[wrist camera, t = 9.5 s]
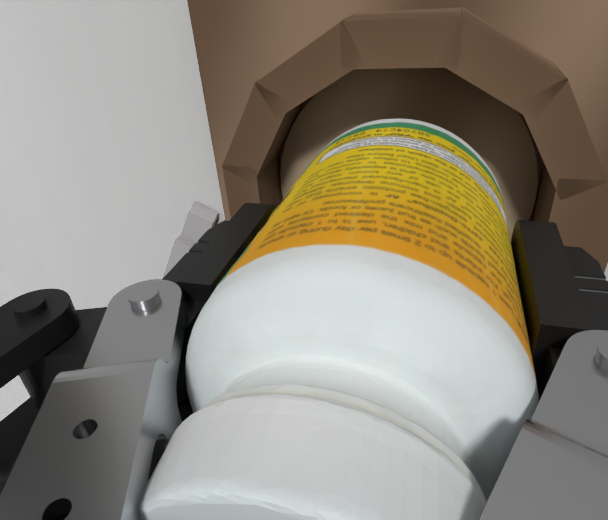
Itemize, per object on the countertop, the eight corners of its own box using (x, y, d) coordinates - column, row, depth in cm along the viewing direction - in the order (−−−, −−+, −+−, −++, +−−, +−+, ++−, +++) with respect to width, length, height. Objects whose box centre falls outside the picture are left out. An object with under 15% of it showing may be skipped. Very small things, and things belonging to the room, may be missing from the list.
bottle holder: (698, -74, 10) (772, -84, 8) (569, 343, 16) (587, 410, 14) (198, -32, 13) (140, -30, 11) (251, 304, 20) (222, 353, 17)
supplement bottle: (488, 302, 13) (528, 783, 6) (308, 284, 15) (139, 647, 7) (519, 110, 10) (691, 545, 3) (292, 111, 12) (-19, 398, 4)
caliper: (147, 466, 30) (82, 572, 25) (131, 458, 30) (64, 562, 25) (222, 209, 18) (126, 312, 13) (197, 196, 18) (90, 294, 13)
